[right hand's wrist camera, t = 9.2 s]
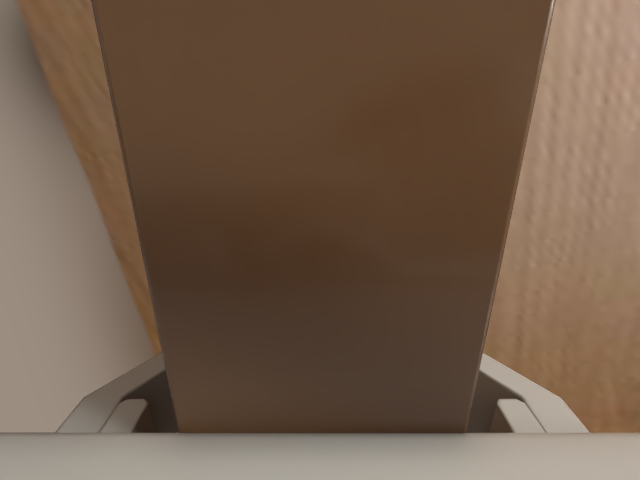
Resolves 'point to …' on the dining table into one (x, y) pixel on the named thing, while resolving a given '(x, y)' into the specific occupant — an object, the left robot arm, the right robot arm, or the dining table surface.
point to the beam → (322, 199)
